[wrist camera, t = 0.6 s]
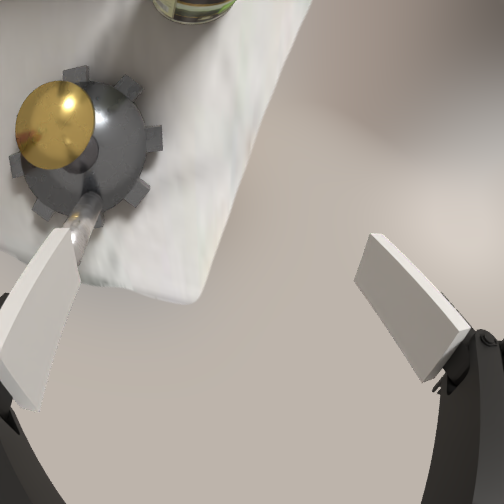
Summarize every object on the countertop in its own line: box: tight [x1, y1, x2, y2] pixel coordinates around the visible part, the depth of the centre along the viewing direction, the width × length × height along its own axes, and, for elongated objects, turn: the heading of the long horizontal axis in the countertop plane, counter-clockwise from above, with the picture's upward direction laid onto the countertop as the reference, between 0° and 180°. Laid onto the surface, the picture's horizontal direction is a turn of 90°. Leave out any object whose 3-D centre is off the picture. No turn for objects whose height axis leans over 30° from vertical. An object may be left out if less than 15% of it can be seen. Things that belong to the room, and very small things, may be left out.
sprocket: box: [9, 65, 163, 266], centre depth 23 cm, size 20×20×14 cm
